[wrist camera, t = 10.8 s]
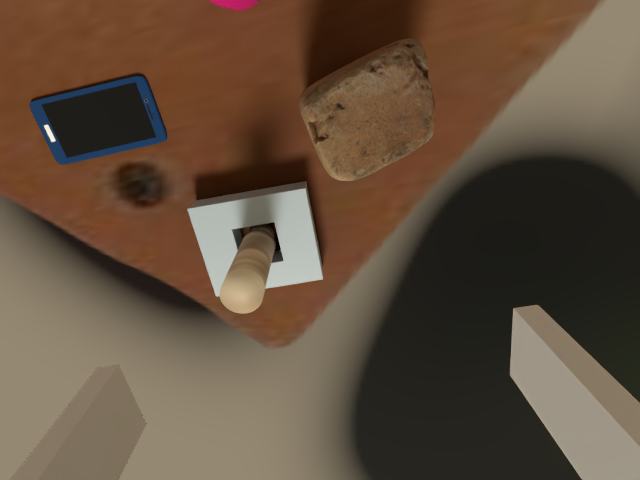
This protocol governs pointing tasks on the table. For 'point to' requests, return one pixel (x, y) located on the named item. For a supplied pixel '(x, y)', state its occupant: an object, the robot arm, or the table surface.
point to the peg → (249, 271)
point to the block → (371, 110)
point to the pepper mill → (235, 4)
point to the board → (255, 209)
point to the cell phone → (100, 120)
